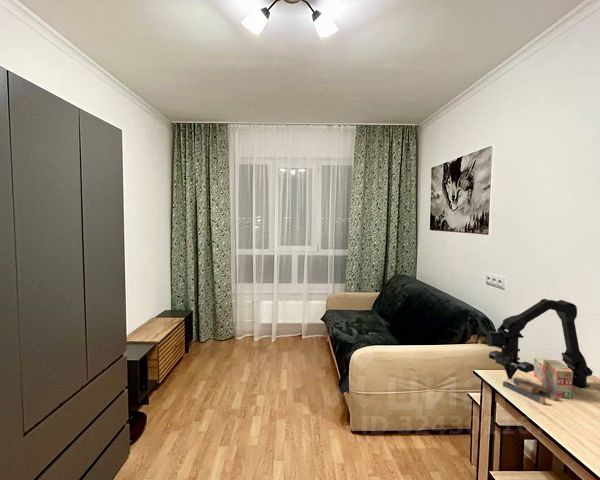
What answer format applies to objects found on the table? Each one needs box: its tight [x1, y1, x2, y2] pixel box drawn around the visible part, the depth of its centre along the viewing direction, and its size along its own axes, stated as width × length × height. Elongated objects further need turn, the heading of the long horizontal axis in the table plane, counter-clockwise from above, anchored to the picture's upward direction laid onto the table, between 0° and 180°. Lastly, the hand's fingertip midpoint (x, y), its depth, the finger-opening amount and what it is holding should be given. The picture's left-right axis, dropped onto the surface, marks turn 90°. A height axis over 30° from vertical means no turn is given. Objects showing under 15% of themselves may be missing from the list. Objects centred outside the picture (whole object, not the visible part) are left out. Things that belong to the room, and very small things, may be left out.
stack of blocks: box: [533, 357, 573, 399], centre depth 163 cm, size 21×6×12 cm, turn 169°
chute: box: [502, 377, 558, 405], centre depth 158 cm, size 9×18×2 cm, turn 24°
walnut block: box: [517, 380, 540, 396], centre depth 158 cm, size 5×6×4 cm
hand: (509, 378), depth 166 cm, fingers closed
